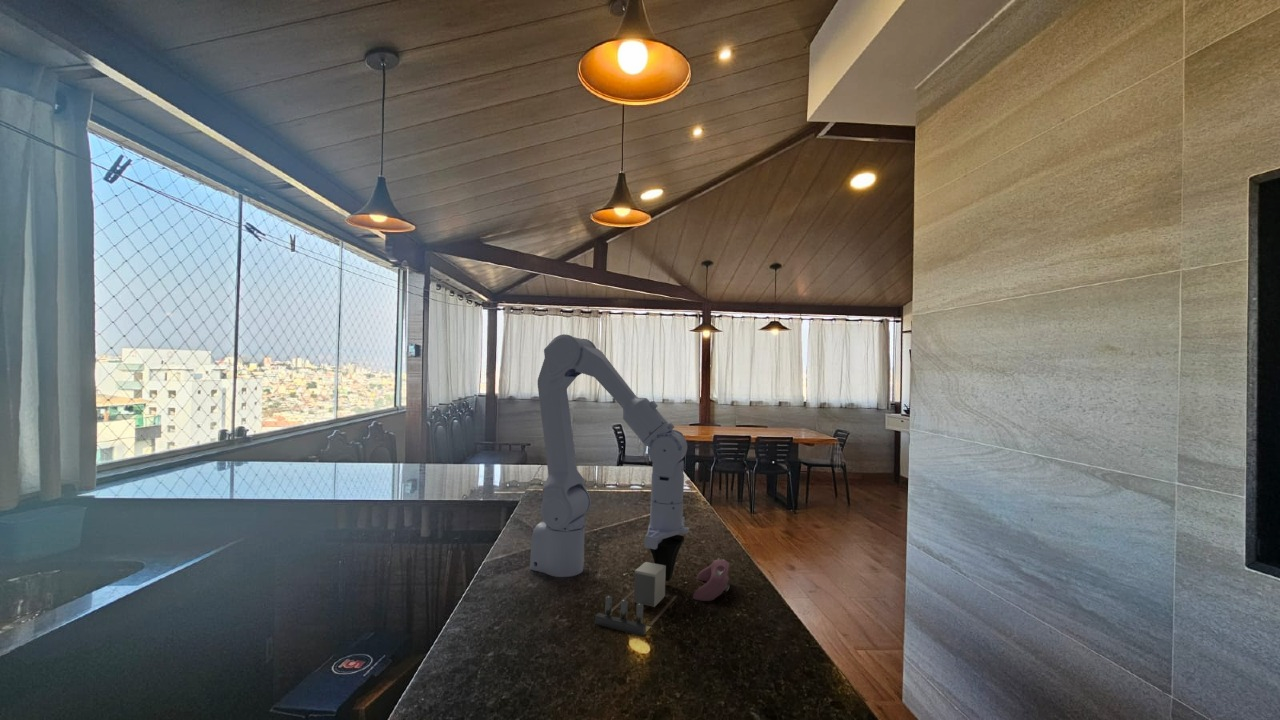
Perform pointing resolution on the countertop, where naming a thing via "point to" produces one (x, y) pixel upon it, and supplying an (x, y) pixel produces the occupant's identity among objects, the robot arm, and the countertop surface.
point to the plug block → (649, 584)
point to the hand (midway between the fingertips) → (664, 578)
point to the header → (622, 618)
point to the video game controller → (713, 581)
